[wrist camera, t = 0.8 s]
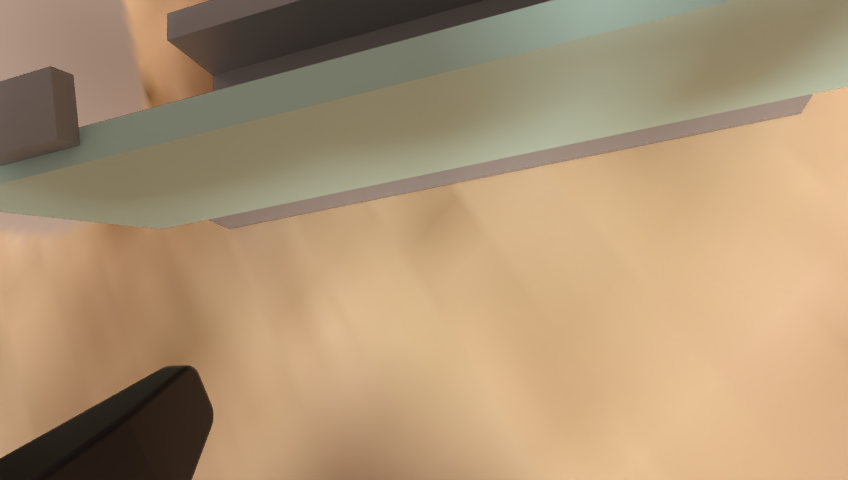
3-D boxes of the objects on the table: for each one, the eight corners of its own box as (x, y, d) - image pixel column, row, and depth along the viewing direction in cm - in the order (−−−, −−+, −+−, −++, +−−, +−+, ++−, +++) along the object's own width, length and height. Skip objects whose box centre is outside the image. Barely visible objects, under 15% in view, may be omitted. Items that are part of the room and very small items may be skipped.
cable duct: (801, 113, 21) (837, 54, 18) (229, 228, 27) (166, 202, 23) (745, -84, 23) (767, -174, 20) (225, 62, 29) (167, 13, 26)
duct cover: (839, 15, 18) (854, 84, 17) (156, 176, 23) (161, 229, 23) (1070, -245, 9) (1107, -110, 9) (-113, 115, 15) (-107, 200, 14)
